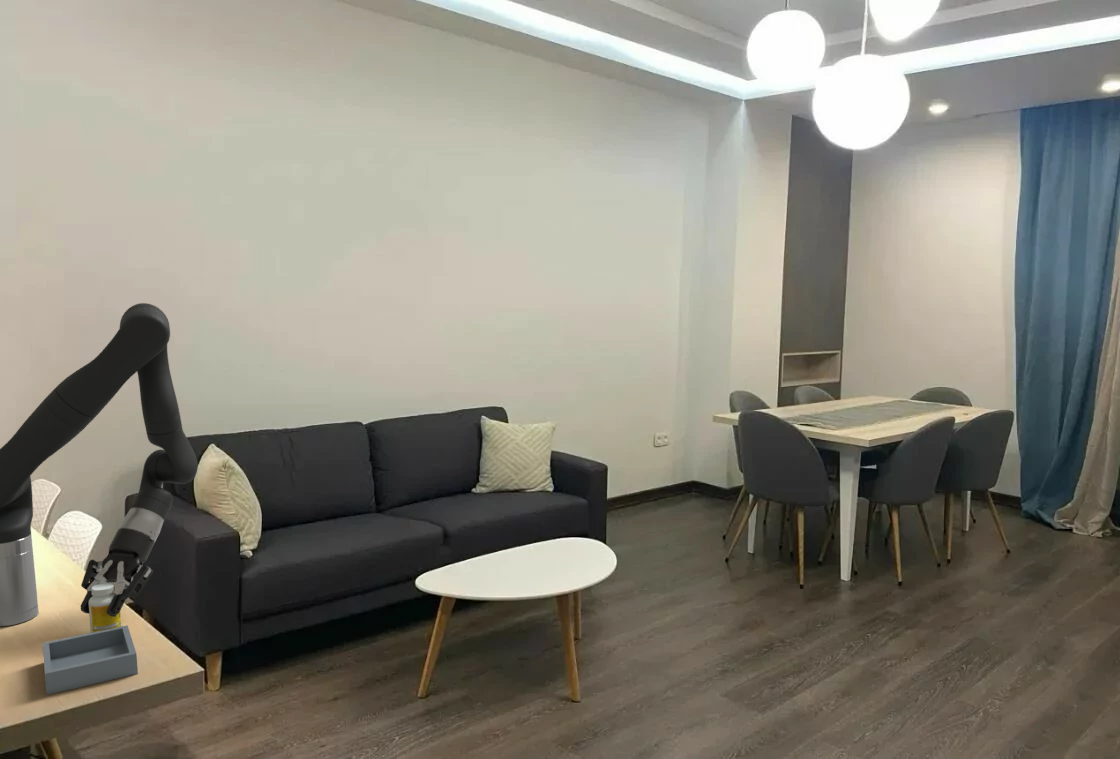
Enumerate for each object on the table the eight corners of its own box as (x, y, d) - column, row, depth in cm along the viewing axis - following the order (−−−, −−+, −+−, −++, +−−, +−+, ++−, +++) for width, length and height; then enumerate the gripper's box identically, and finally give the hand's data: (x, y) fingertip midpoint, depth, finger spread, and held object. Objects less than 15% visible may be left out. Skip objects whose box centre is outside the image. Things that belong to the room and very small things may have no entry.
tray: (46, 694, 146) (44, 673, 145) (44, 662, 158) (42, 642, 157) (137, 673, 153) (136, 653, 153) (129, 644, 165) (127, 625, 164)
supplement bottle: (86, 632, 170) (82, 586, 168) (115, 624, 174) (111, 578, 172) (97, 640, 166) (93, 593, 165) (126, 631, 170) (122, 585, 169)
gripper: (96, 523, 176) (54, 602, 166) (157, 529, 172) (117, 609, 163) (117, 540, 182) (78, 617, 172) (176, 546, 178) (139, 624, 169)
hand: (97, 613), depth 167 cm, fingers closed on supplement bottle, 5 cm apart
